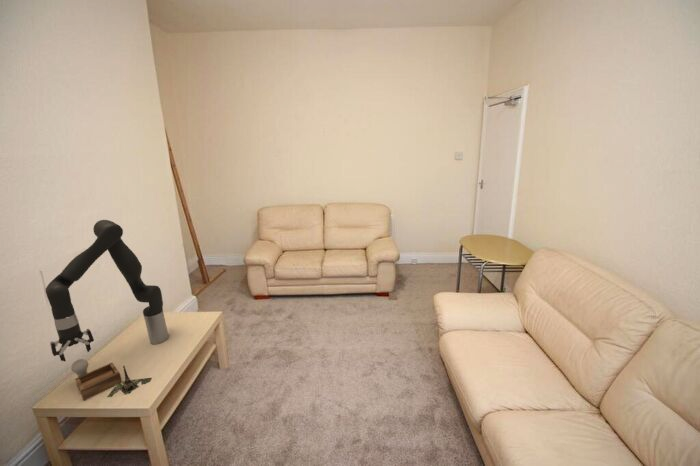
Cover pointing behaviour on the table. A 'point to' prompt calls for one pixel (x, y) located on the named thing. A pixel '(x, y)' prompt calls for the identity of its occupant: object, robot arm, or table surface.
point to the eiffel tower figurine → (128, 385)
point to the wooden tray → (98, 380)
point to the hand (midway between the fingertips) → (76, 355)
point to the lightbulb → (80, 367)
